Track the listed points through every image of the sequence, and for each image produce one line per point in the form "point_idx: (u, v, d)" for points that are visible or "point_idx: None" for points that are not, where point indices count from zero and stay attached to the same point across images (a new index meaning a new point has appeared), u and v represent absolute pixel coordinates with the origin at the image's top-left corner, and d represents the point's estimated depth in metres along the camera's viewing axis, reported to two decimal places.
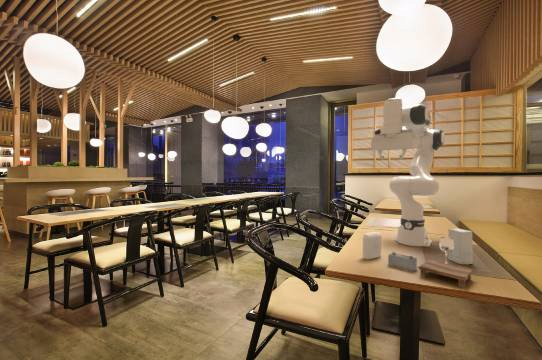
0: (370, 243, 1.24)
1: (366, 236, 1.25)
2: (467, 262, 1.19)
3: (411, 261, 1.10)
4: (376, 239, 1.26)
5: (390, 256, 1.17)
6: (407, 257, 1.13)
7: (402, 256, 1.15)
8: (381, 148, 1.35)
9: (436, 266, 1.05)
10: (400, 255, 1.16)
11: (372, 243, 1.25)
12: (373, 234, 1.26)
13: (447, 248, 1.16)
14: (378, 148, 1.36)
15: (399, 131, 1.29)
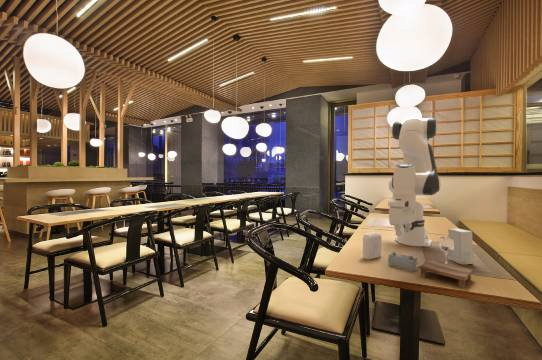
0: (370, 243, 1.24)
1: (366, 236, 1.25)
2: (467, 262, 1.19)
3: (411, 261, 1.10)
4: (376, 239, 1.26)
5: (390, 256, 1.17)
6: (407, 257, 1.13)
7: (402, 256, 1.15)
8: (403, 223, 1.10)
9: (436, 266, 1.05)
10: (400, 255, 1.16)
11: (372, 243, 1.25)
12: (373, 234, 1.26)
13: (447, 248, 1.16)
14: (402, 223, 1.09)
15: None
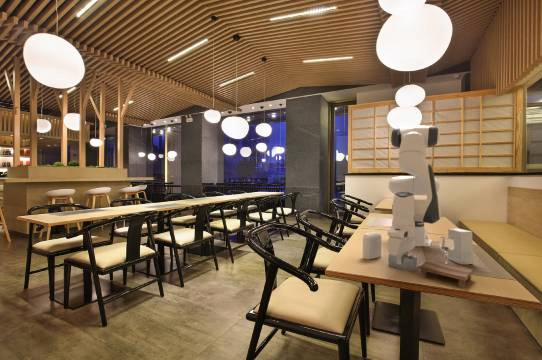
0: (370, 243, 1.24)
1: (366, 236, 1.25)
2: (467, 262, 1.19)
3: (411, 261, 1.10)
4: (376, 239, 1.26)
5: (390, 256, 1.17)
6: (407, 257, 1.13)
7: (402, 256, 1.15)
8: (402, 252, 1.11)
9: (436, 266, 1.05)
10: None
11: (372, 243, 1.25)
12: (373, 234, 1.26)
13: (447, 248, 1.16)
14: (401, 253, 1.10)
15: None
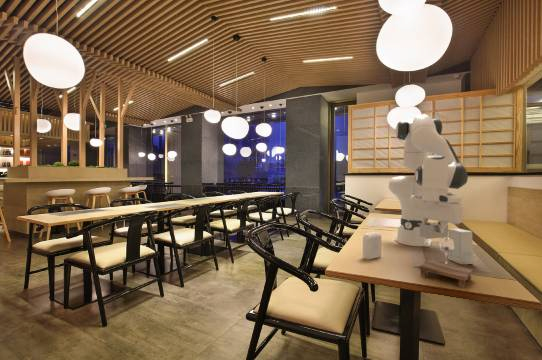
0: (370, 243, 1.24)
1: (366, 236, 1.25)
2: (467, 262, 1.19)
3: (447, 226, 1.06)
4: (376, 239, 1.26)
5: (431, 227, 1.03)
6: (438, 223, 1.07)
7: (435, 224, 1.06)
8: None
9: (436, 266, 1.05)
10: (431, 223, 1.06)
11: (372, 243, 1.25)
12: (373, 234, 1.26)
13: (447, 248, 1.16)
14: None
15: None
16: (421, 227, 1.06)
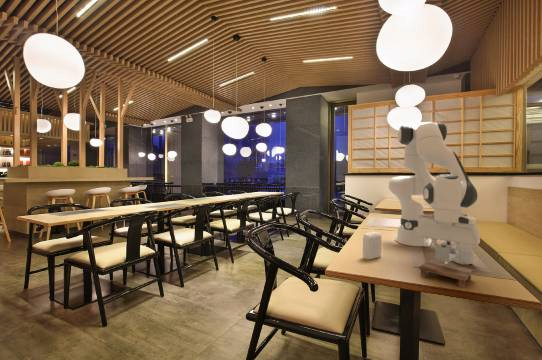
0: (370, 243, 1.24)
1: (366, 236, 1.25)
2: (467, 262, 1.19)
3: (455, 245, 1.05)
4: (376, 239, 1.26)
5: (449, 249, 0.99)
6: (448, 244, 1.05)
7: (447, 244, 1.03)
8: None
9: (436, 266, 1.05)
10: None
11: (372, 243, 1.25)
12: (373, 234, 1.26)
13: None
14: None
15: None
16: (438, 249, 1.01)
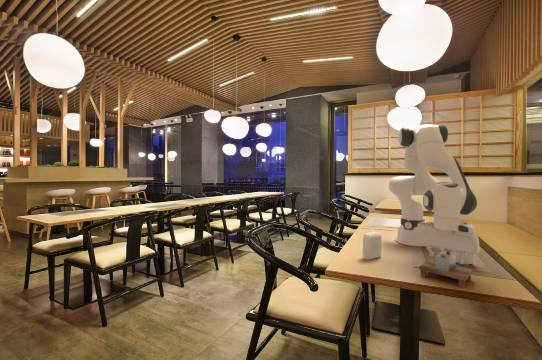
0: (370, 243, 1.24)
1: (366, 236, 1.25)
2: (467, 262, 1.19)
3: (455, 255, 1.05)
4: (376, 239, 1.26)
5: (449, 260, 0.99)
6: (448, 253, 1.05)
7: (447, 255, 1.03)
8: None
9: None
10: None
11: (372, 243, 1.25)
12: (373, 234, 1.26)
13: None
14: None
15: None
16: (437, 260, 1.01)
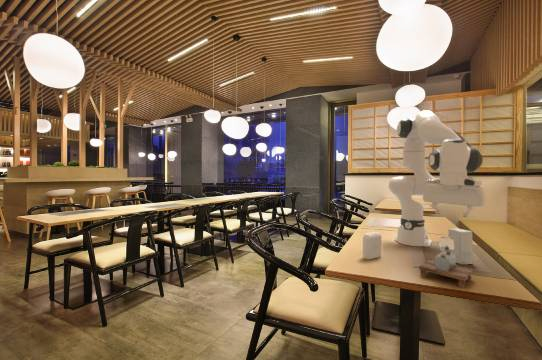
0: (370, 243, 1.24)
1: (366, 236, 1.25)
2: (467, 262, 1.19)
3: (455, 255, 1.05)
4: (376, 239, 1.26)
5: (449, 260, 0.99)
6: (448, 253, 1.05)
7: (447, 255, 1.03)
8: None
9: None
10: None
11: (372, 243, 1.25)
12: (373, 234, 1.26)
13: (447, 248, 1.16)
14: None
15: None
16: (437, 260, 1.01)
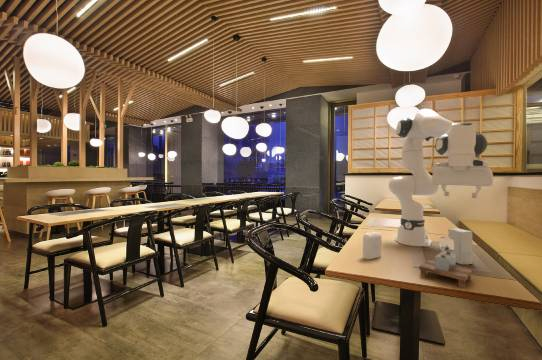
0: (370, 243, 1.24)
1: (366, 236, 1.25)
2: (467, 262, 1.19)
3: (455, 255, 1.05)
4: (376, 239, 1.26)
5: (449, 260, 0.99)
6: (448, 253, 1.05)
7: (447, 255, 1.03)
8: None
9: None
10: None
11: (372, 243, 1.25)
12: (373, 234, 1.26)
13: (447, 248, 1.16)
14: None
15: None
16: (437, 260, 1.01)
